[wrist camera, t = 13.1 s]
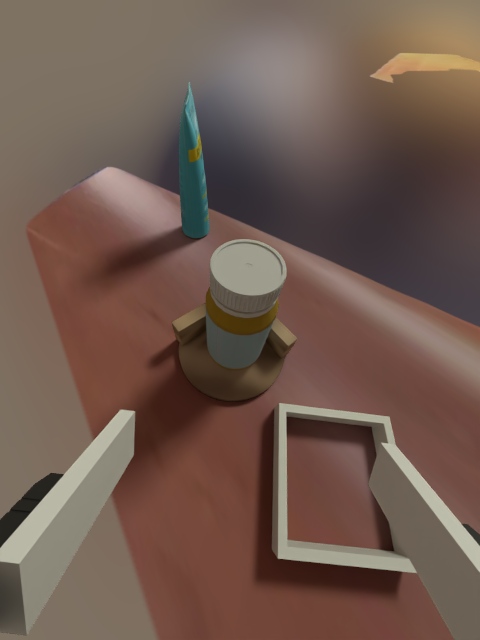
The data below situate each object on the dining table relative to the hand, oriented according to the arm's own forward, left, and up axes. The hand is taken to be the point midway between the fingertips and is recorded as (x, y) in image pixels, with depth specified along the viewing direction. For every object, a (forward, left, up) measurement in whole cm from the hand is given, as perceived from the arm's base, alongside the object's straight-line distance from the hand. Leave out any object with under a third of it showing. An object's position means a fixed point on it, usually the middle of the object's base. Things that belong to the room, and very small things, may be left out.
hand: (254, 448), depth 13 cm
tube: (-12, -35, -15) cm, 40 cm away
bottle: (-6, -11, -15) cm, 19 cm away
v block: (-6, -11, -15) cm, 20 cm away
